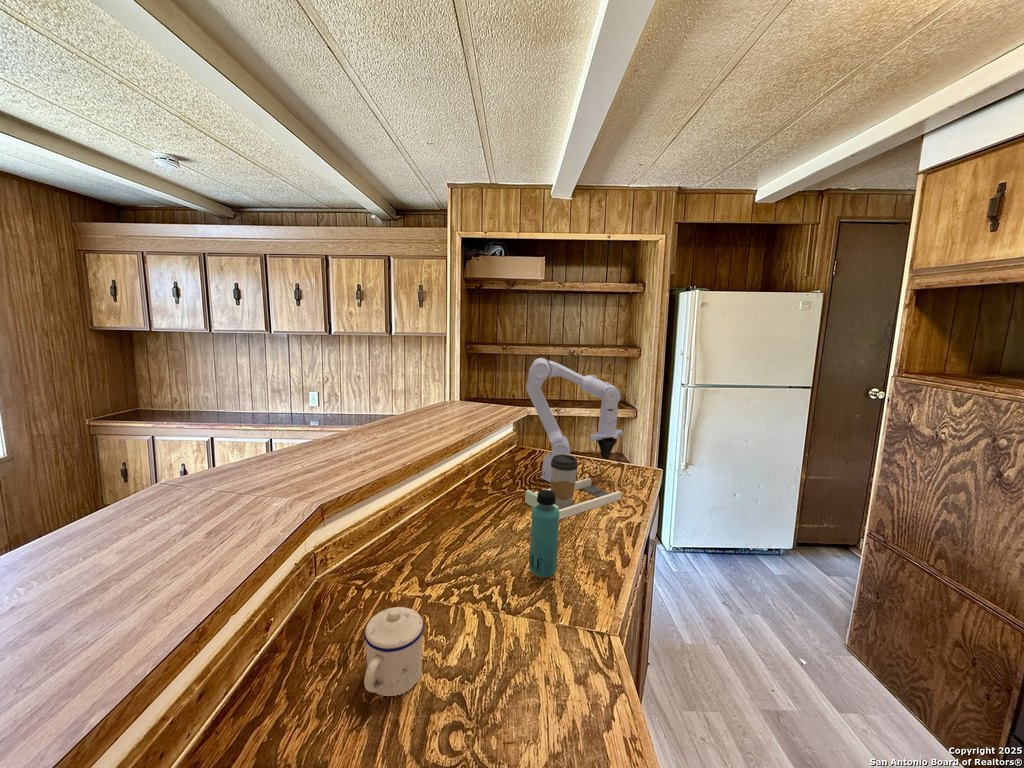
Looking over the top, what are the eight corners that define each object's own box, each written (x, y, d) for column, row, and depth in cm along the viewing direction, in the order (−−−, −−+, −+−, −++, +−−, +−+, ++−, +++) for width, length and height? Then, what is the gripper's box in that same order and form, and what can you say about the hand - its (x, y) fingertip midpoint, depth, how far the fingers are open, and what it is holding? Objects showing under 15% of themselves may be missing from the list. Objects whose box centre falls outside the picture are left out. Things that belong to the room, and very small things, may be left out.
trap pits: (581, 489, 149) (581, 488, 149) (592, 486, 152) (592, 485, 152) (606, 501, 140) (606, 500, 140) (616, 497, 143) (616, 496, 143)
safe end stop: (525, 502, 137) (525, 490, 136) (528, 501, 138) (528, 489, 137) (555, 521, 126) (555, 507, 125) (558, 520, 126) (559, 506, 126)
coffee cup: (573, 499, 140) (577, 454, 138) (576, 511, 132) (579, 464, 130) (547, 498, 141) (550, 453, 138) (548, 509, 132) (551, 462, 130)
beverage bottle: (559, 570, 102) (564, 489, 98) (552, 587, 96) (557, 500, 92) (532, 564, 104) (536, 484, 101) (523, 580, 98) (528, 495, 94)
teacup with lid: (385, 648, 77) (385, 587, 75) (433, 661, 74) (433, 599, 72) (340, 706, 65) (338, 636, 63) (394, 724, 63) (394, 652, 61)
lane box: (525, 502, 137) (525, 495, 136) (588, 484, 153) (589, 477, 153) (555, 520, 126) (555, 512, 125) (620, 499, 142) (620, 492, 142)
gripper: (602, 425, 143) (599, 465, 146) (631, 420, 152) (627, 458, 154) (586, 420, 149) (584, 459, 151) (615, 416, 157) (612, 452, 160)
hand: (605, 458), depth 153 cm, fingers closed
